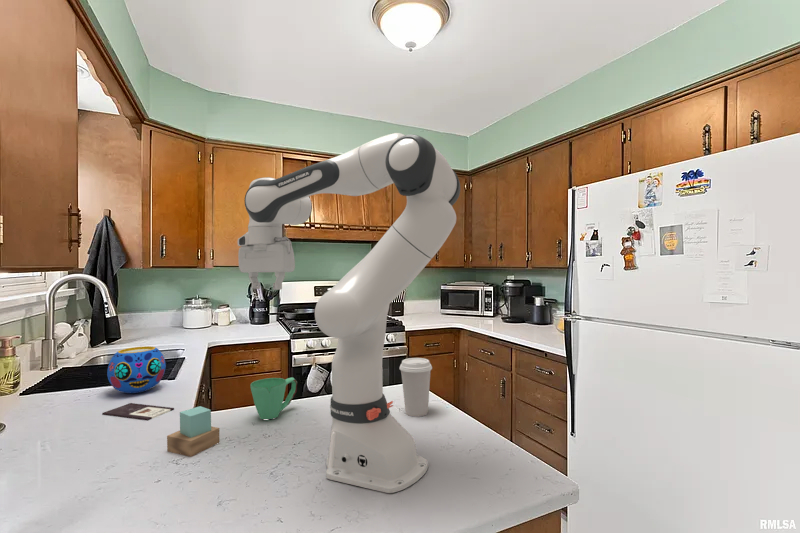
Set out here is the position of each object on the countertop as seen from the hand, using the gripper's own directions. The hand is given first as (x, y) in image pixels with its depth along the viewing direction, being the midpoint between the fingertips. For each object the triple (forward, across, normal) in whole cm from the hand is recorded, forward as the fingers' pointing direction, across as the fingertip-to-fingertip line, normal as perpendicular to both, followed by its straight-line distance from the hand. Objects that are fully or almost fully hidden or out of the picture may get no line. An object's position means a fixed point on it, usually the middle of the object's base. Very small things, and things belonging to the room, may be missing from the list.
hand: (266, 289), depth 110 cm
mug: (+37, +5, -6) cm, 38 cm away
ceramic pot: (+37, +67, +6) cm, 77 cm away
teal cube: (+34, +4, +18) cm, 38 cm away
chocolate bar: (+38, +43, +15) cm, 59 cm away
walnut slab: (+38, +4, +18) cm, 42 cm away
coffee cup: (+37, -29, -29) cm, 55 cm away
